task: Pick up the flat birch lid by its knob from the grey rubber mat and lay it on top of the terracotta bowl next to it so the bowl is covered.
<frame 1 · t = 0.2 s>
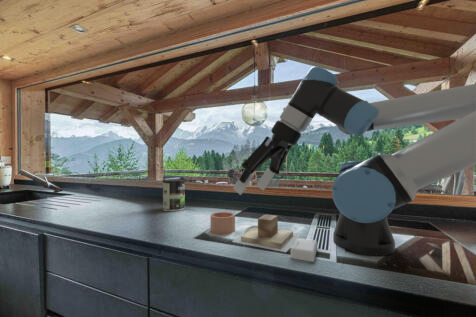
hand: (249, 189, 67), 15 cm above the counter, tool tilted 35°, fingers open, 13 cm apart
mat: (268, 239, 70), on the counter
coffee can: (174, 209, 112), on the counter
lid: (268, 237, 70), resting on mat
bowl: (222, 231, 78), on the counter
soap: (304, 256, 59), on the counter
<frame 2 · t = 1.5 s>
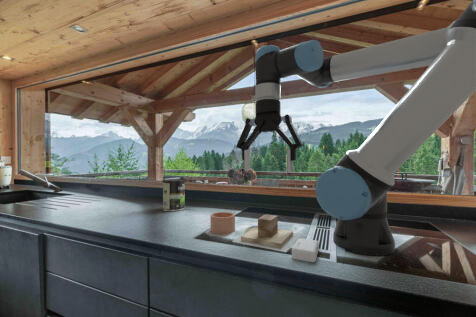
hand: (267, 171, 70), 20 cm above the counter, tool pointing down, fingers open, 13 cm apart
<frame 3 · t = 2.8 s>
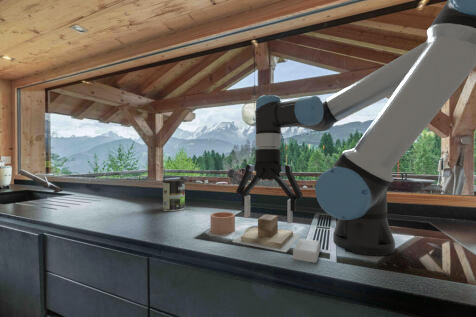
hand: (267, 219, 70), 6 cm above the counter, tool pointing down, fingers open, 13 cm apart
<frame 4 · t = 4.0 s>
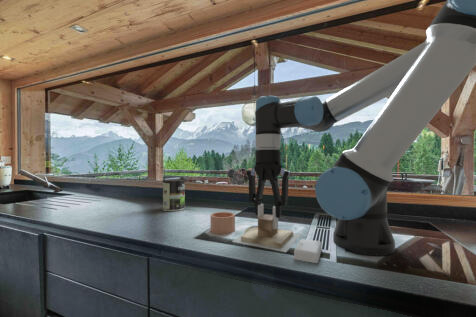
hand: (268, 226, 70), 4 cm above the counter, tool pointing down, fingers closed on lid, 4 cm apart
lid: (268, 237, 70), resting on mat, touching gripper
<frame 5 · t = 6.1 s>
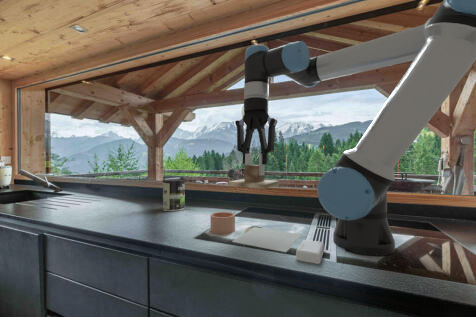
hand: (254, 174, 72), 19 cm above the counter, tool pointing down, fingers closed on lid, 4 cm apart
lid: (254, 185, 72), point 16 cm above the counter, touching gripper
when the fingers open (10 cm above the counter, at t = 8.3 s): lid drops 1 cm, resting on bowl.
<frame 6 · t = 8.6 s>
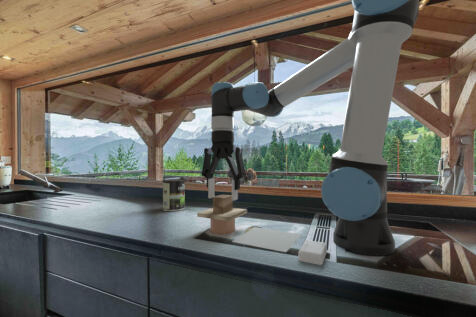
hand: (222, 198, 78), 11 cm above the counter, tool pointing down, fingers open, 8 cm apart
lid: (222, 214, 78), point 5 cm above the counter, touching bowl
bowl: (222, 231, 78), on the counter, touching lid
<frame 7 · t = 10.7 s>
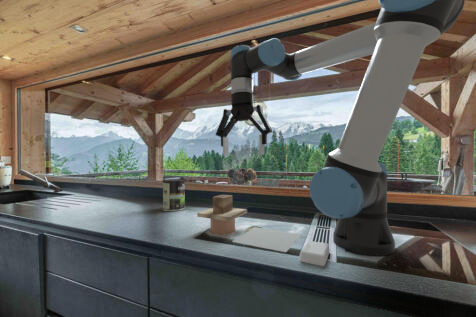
hand: (243, 155, 80), 25 cm above the counter, tool pointing down, fingers open, 13 cm apart
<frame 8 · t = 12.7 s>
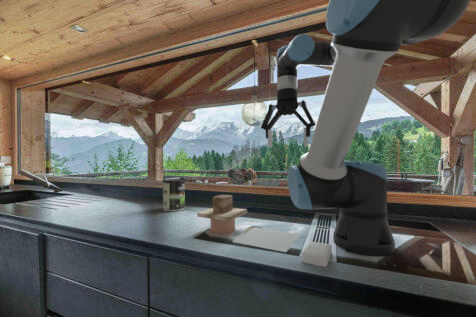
hand: (287, 146, 88), 29 cm above the counter, tool pointing down, fingers open, 13 cm apart
at the end: lid 0.0 cm off-centre on the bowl, point 5.5 cm above the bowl's base; lid touching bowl; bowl tilted 0° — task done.
